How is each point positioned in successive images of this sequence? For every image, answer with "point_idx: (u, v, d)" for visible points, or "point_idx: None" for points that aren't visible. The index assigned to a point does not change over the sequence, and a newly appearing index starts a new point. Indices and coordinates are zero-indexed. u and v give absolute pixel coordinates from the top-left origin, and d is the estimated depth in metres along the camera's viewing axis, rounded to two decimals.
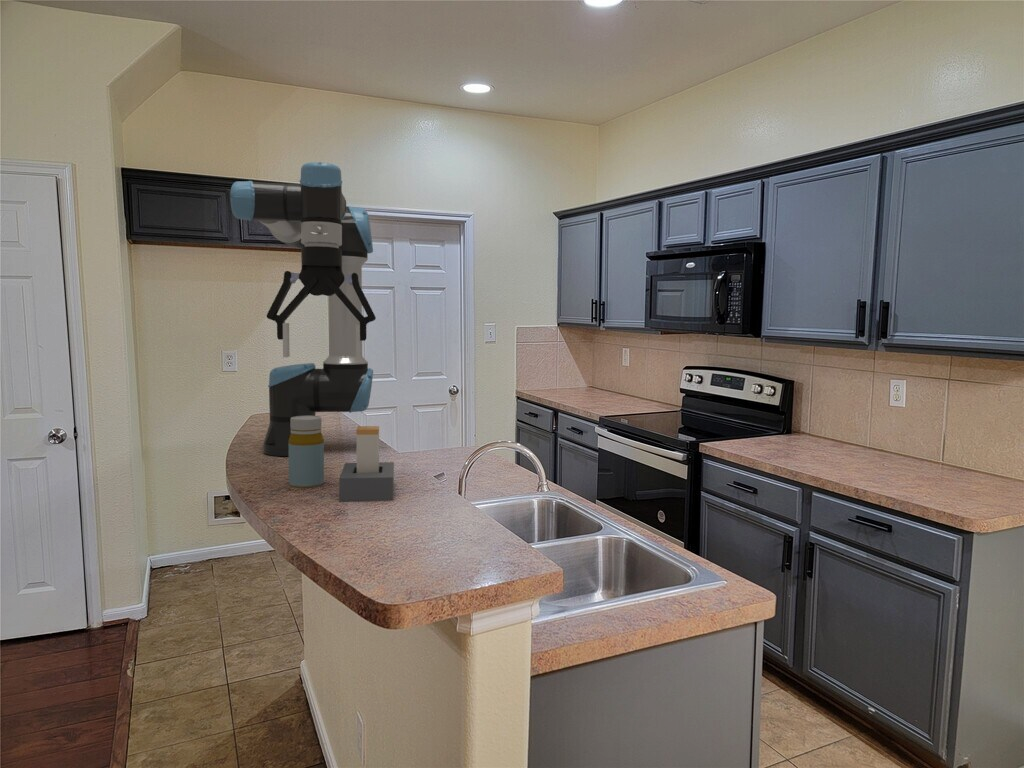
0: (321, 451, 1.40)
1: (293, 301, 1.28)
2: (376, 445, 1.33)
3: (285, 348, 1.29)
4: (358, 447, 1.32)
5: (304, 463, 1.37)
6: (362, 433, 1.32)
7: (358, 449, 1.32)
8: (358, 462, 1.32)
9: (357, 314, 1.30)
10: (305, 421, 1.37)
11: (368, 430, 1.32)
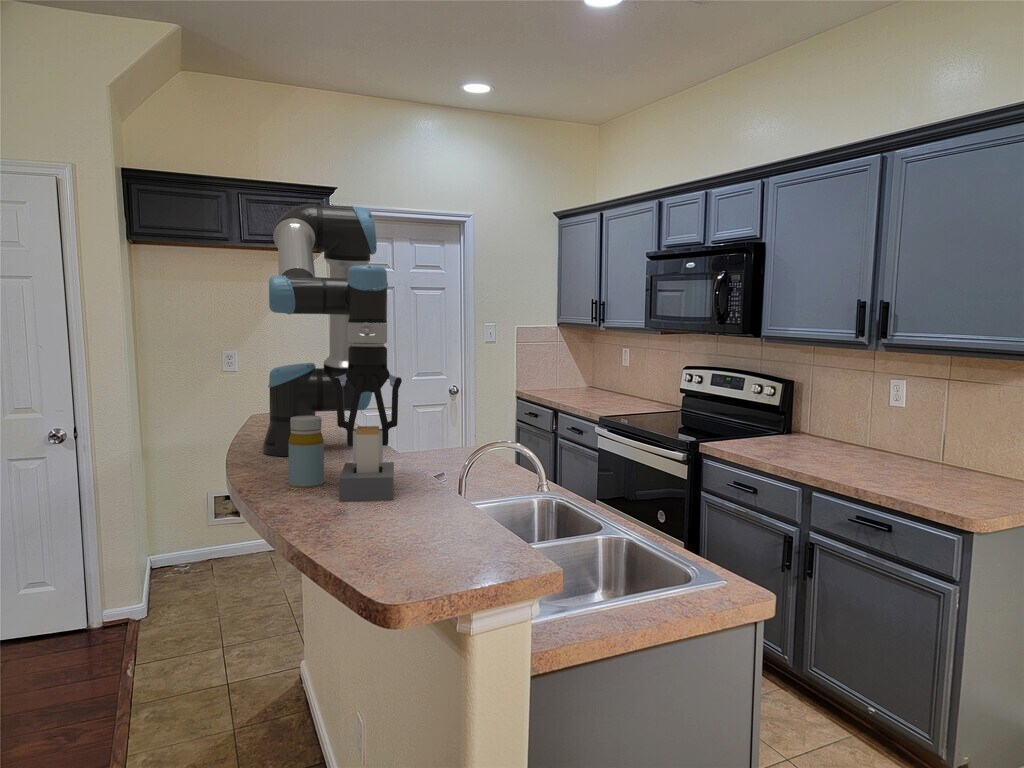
0: (321, 451, 1.40)
1: (353, 405, 1.32)
2: (376, 445, 1.33)
3: (355, 455, 1.33)
4: (358, 447, 1.32)
5: (304, 463, 1.37)
6: (362, 433, 1.32)
7: (358, 449, 1.32)
8: (358, 462, 1.32)
9: (384, 419, 1.33)
10: (305, 421, 1.37)
11: (368, 430, 1.32)
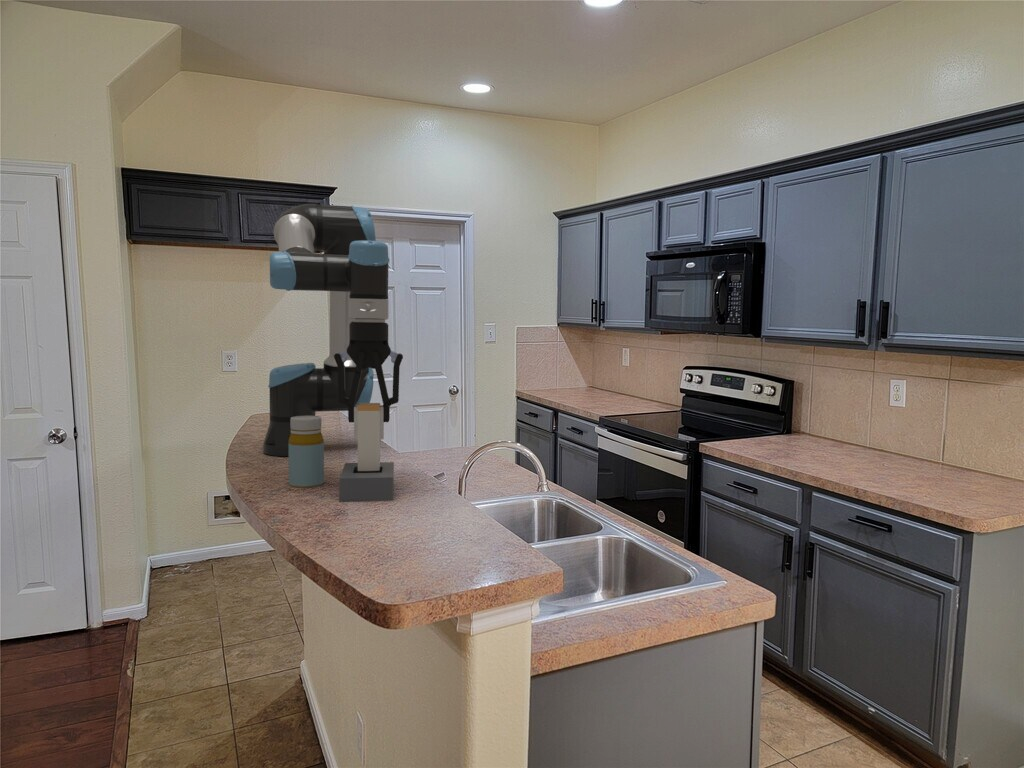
0: (321, 451, 1.40)
1: (354, 381, 1.32)
2: (377, 421, 1.32)
3: (356, 431, 1.33)
4: (359, 423, 1.32)
5: (304, 463, 1.37)
6: (363, 409, 1.32)
7: (359, 425, 1.32)
8: (359, 438, 1.32)
9: (385, 395, 1.33)
10: (305, 421, 1.37)
11: (369, 406, 1.32)
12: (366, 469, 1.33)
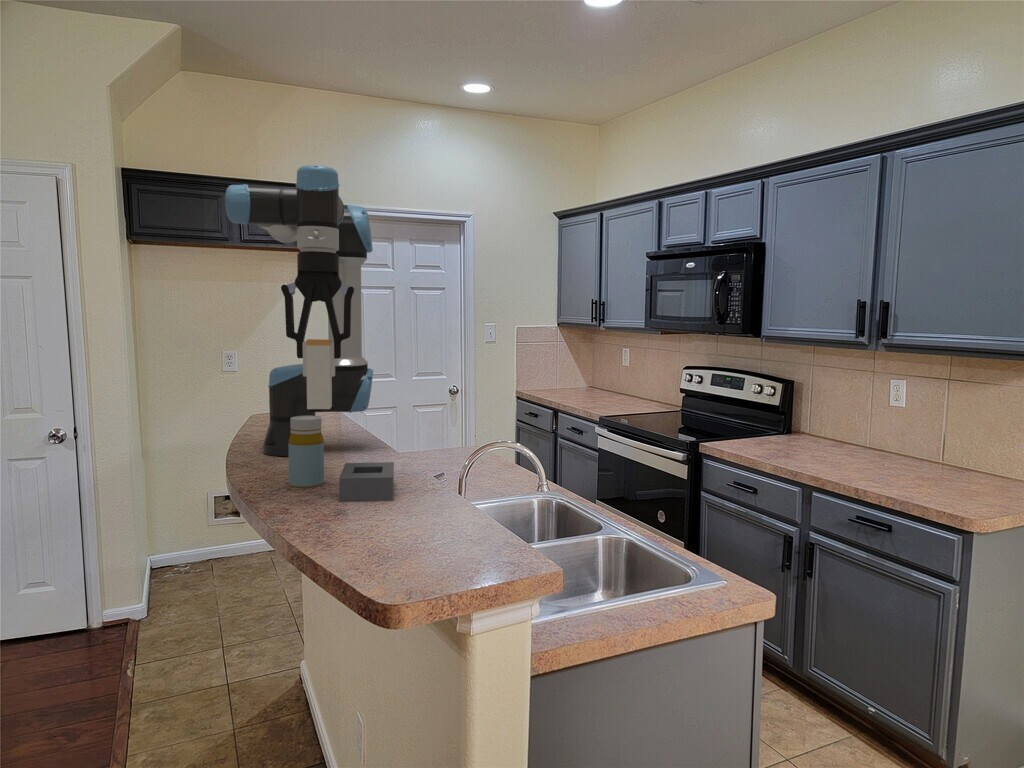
0: (321, 451, 1.40)
1: (302, 315, 1.26)
2: (327, 357, 1.26)
3: (305, 367, 1.26)
4: (308, 358, 1.26)
5: (304, 463, 1.37)
6: (312, 344, 1.26)
7: (308, 361, 1.26)
8: (308, 374, 1.26)
9: (335, 330, 1.27)
10: (305, 421, 1.37)
11: (319, 341, 1.26)
12: (316, 407, 1.27)
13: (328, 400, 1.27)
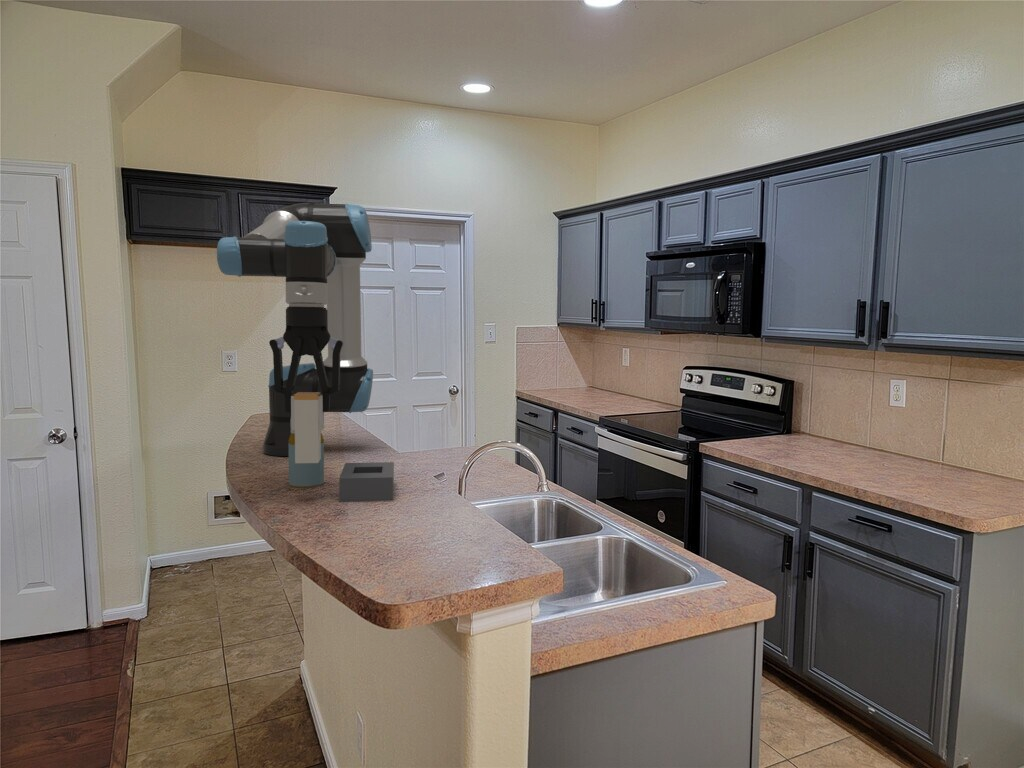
0: (321, 451, 1.40)
1: (291, 369, 1.26)
2: (315, 411, 1.26)
3: (293, 421, 1.26)
4: (296, 413, 1.25)
5: (304, 463, 1.37)
6: (300, 398, 1.25)
7: (296, 415, 1.26)
8: (296, 429, 1.26)
9: (324, 384, 1.27)
10: None
11: (307, 395, 1.26)
12: (304, 461, 1.26)
13: (316, 454, 1.27)
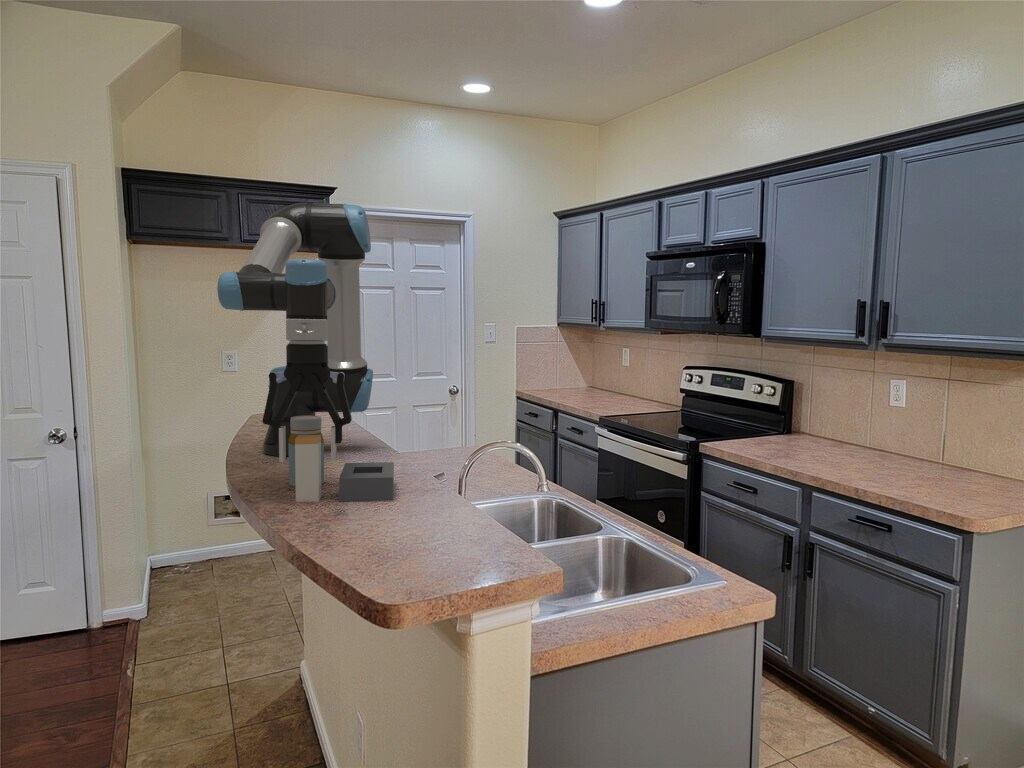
0: (321, 451, 1.40)
1: (284, 403, 1.26)
2: (316, 455, 1.27)
3: (281, 453, 1.27)
4: (297, 457, 1.26)
5: None
6: (301, 443, 1.26)
7: (297, 459, 1.26)
8: (297, 473, 1.27)
9: (334, 416, 1.28)
10: (305, 421, 1.37)
11: (307, 439, 1.26)
12: None
13: (317, 497, 1.28)
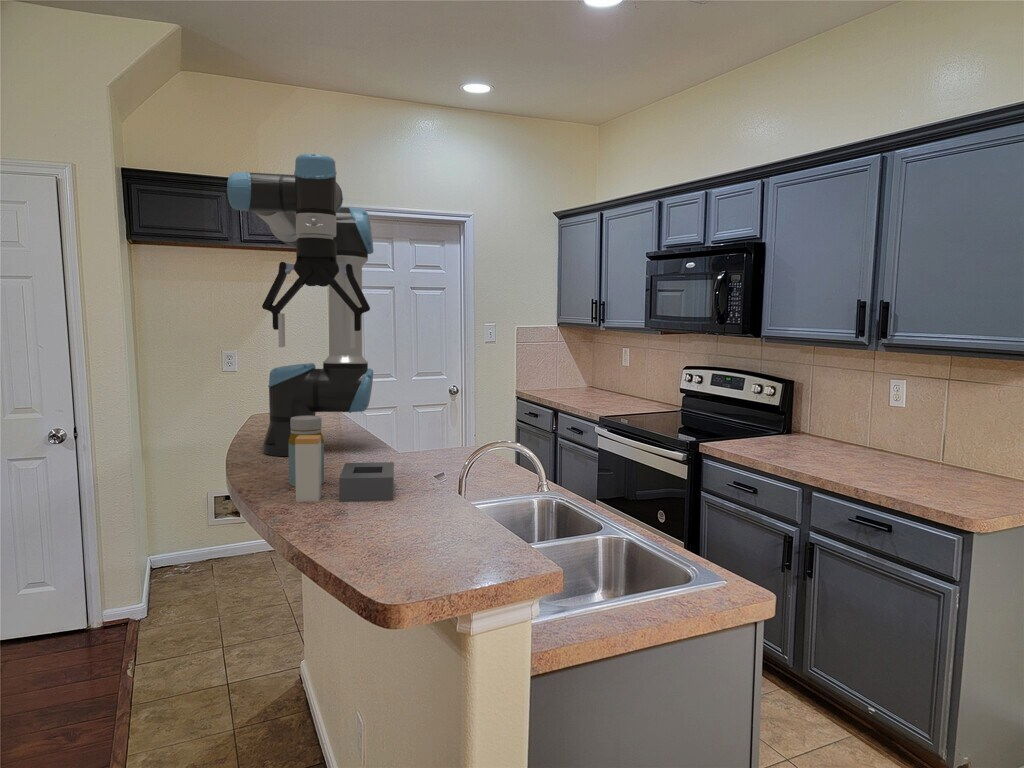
0: (321, 451, 1.40)
1: (288, 292, 1.30)
2: (316, 455, 1.27)
3: (281, 338, 1.30)
4: (297, 457, 1.26)
5: None
6: (301, 442, 1.26)
7: (297, 459, 1.26)
8: (297, 473, 1.27)
9: (352, 304, 1.32)
10: (305, 421, 1.37)
11: (307, 439, 1.26)
12: None
13: (317, 497, 1.28)
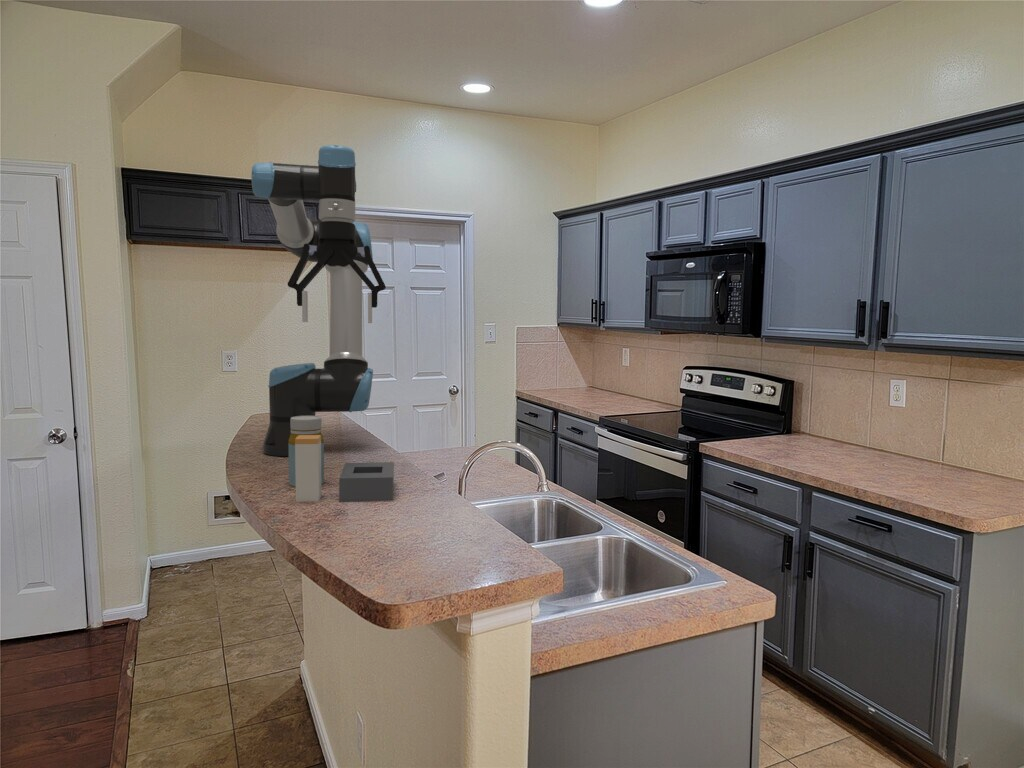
0: (321, 451, 1.40)
1: (311, 271, 1.42)
2: (316, 455, 1.27)
3: (304, 313, 1.42)
4: (297, 457, 1.26)
5: None
6: (301, 443, 1.26)
7: (297, 459, 1.26)
8: (297, 473, 1.27)
9: (369, 283, 1.44)
10: (305, 421, 1.37)
11: (307, 439, 1.26)
12: None
13: (317, 497, 1.28)
